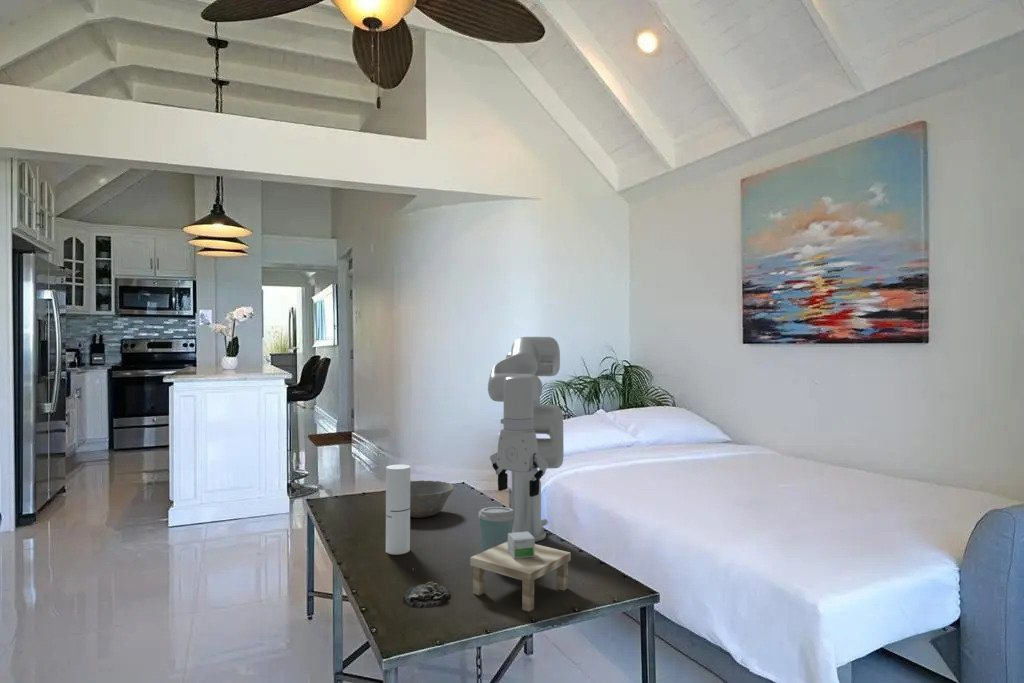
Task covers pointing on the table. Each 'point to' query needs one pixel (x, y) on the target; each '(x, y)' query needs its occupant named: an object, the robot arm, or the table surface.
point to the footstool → (521, 569)
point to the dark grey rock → (426, 595)
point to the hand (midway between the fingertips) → (518, 492)
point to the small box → (521, 545)
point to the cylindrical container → (397, 509)
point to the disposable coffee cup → (495, 525)
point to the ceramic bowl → (428, 497)
